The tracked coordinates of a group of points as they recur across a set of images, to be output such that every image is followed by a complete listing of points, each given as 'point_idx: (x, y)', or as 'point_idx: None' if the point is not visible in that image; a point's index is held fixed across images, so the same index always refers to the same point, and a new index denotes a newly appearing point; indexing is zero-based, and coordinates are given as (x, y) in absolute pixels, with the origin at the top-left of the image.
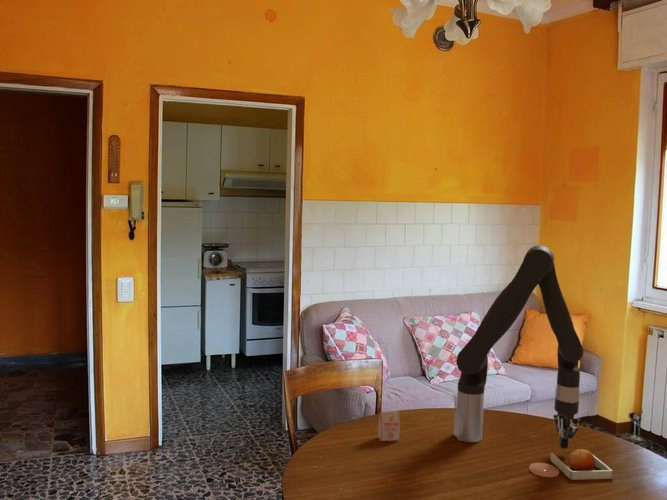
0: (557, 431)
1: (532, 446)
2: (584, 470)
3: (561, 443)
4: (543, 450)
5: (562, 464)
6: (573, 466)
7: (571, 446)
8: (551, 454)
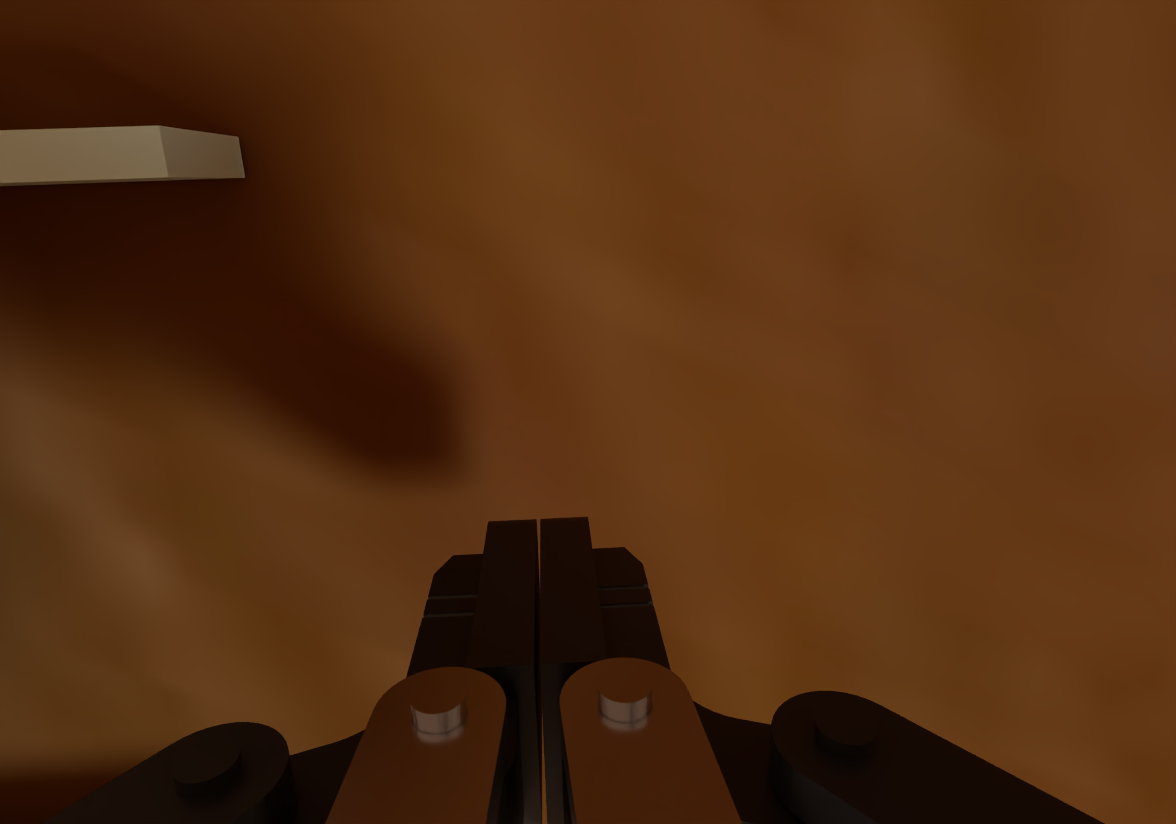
0: (820, 701)
1: (957, 36)
2: None
3: (491, 567)
4: (738, 203)
5: None
6: None
7: None
8: (139, 129)
